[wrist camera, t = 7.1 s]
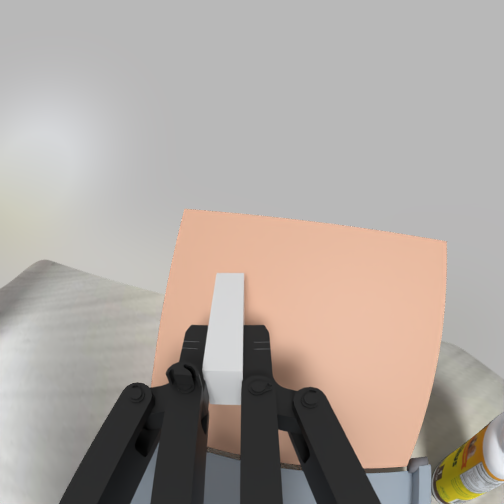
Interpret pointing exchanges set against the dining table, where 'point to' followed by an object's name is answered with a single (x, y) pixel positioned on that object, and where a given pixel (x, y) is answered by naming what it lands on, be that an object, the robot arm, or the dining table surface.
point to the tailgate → (319, 320)
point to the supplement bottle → (472, 466)
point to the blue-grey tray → (298, 483)
